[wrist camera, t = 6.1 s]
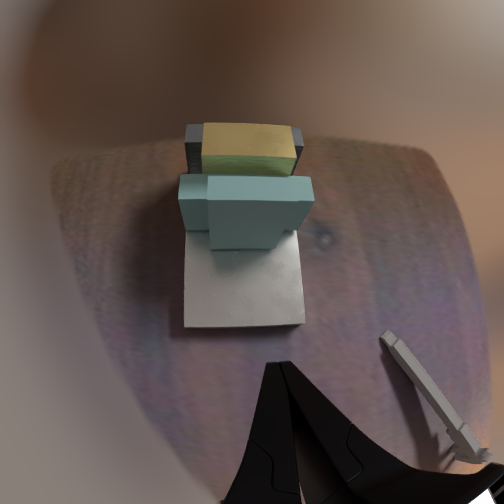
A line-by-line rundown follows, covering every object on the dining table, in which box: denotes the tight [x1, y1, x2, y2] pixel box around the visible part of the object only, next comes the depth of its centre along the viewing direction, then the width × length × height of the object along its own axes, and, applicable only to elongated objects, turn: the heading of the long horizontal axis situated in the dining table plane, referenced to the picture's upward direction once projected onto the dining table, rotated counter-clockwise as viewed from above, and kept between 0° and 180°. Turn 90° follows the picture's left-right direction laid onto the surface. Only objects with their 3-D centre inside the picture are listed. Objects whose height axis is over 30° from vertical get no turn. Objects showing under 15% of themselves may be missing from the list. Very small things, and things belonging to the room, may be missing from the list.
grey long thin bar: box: [381, 330, 492, 464], centre depth 17 cm, size 20×1×6 cm, turn 35°
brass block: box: [201, 123, 297, 176], centre depth 20 cm, size 3×6×7 cm, turn 93°
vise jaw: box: [178, 174, 315, 249], centre depth 19 cm, size 4×9×7 cm, turn 93°
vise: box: [184, 124, 306, 329], centre depth 21 cm, size 15×9×6 cm, turn 3°
